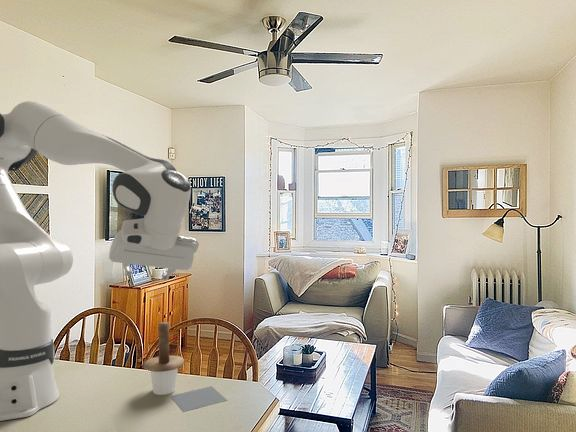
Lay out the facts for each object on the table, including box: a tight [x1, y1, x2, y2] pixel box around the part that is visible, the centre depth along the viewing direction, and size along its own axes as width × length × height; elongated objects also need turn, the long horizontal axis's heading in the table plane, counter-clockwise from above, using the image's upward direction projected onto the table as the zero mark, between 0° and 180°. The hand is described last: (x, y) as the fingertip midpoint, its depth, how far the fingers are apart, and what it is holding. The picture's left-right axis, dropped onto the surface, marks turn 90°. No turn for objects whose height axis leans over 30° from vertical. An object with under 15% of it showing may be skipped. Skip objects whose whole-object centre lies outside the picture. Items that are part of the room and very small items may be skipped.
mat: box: [169, 385, 228, 413], centre depth 106 cm, size 11×10×1 cm
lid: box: [143, 321, 185, 372], centre depth 110 cm, size 10×10×11 cm
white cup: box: [150, 368, 179, 396], centre depth 111 cm, size 7×7×7 cm
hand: (146, 276), depth 112 cm, fingers open, 8 cm apart
